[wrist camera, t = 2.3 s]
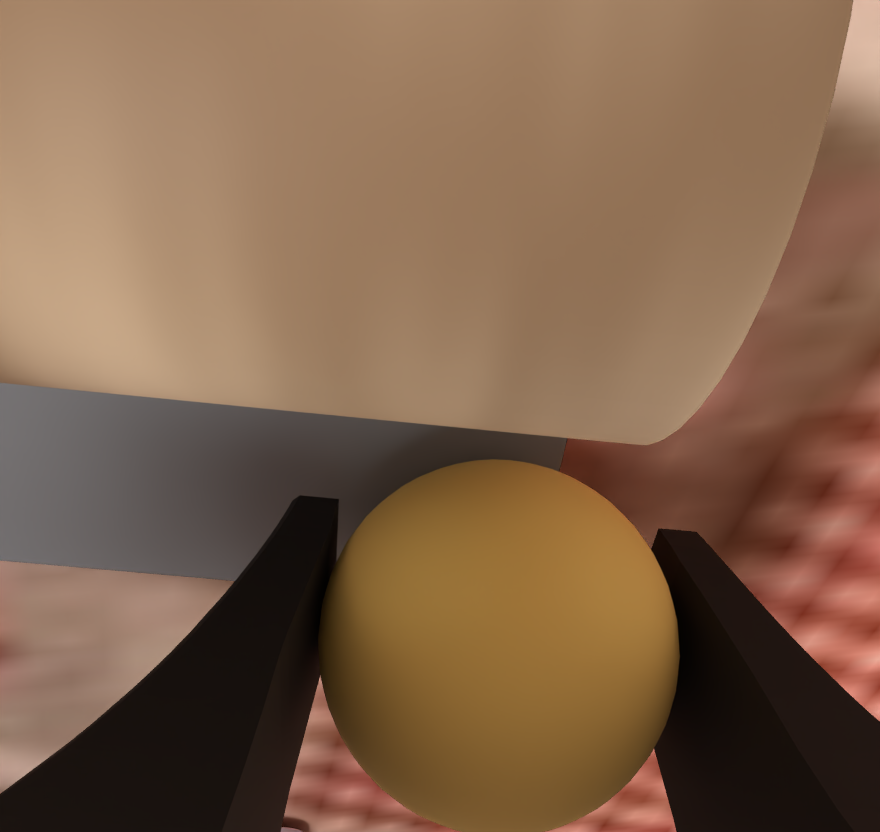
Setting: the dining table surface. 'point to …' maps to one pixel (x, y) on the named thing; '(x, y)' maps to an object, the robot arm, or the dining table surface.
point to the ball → (498, 647)
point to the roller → (404, 201)
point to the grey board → (201, 475)
